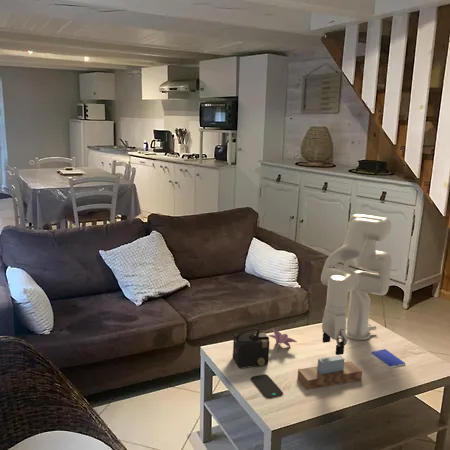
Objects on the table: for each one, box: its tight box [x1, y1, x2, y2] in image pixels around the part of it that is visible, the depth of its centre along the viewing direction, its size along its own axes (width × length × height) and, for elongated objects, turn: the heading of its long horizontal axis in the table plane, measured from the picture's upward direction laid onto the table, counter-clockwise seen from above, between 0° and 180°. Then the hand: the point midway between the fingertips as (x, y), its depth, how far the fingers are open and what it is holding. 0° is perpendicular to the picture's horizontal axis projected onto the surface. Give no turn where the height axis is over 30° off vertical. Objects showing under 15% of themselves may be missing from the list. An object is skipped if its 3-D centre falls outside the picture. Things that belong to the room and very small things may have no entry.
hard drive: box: [370, 348, 406, 369], centre depth 205 cm, size 2×8×12 cm
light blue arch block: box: [316, 354, 346, 375], centre depth 187 cm, size 10×3×9 cm, turn 109°
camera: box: [232, 326, 270, 369], centre depth 197 cm, size 11×14×15 cm
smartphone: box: [250, 373, 284, 400], centre depth 182 cm, size 8×1×15 cm
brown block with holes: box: [297, 360, 363, 390], centre depth 187 cm, size 24×8×4 cm, turn 109°
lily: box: [267, 328, 298, 353], centre depth 209 cm, size 12×12×10 cm
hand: (332, 347), depth 185 cm, fingers open, 9 cm apart
